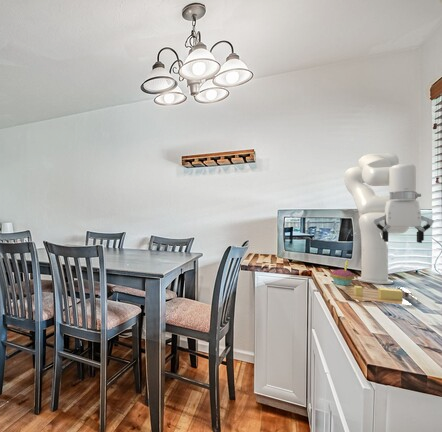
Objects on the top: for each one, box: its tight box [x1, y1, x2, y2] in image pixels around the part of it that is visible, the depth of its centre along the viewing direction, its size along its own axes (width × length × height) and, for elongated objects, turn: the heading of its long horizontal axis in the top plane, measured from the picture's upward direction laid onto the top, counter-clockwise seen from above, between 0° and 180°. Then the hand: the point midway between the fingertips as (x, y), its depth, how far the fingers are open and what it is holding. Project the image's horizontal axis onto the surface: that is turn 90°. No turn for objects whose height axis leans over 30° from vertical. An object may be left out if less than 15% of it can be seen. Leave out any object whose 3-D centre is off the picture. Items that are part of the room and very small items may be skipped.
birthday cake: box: [329, 258, 355, 286], centre depth 137 cm, size 9×8×12 cm
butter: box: [377, 287, 404, 300], centre depth 113 cm, size 4×6×3 cm, turn 60°
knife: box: [396, 286, 419, 305], centre depth 115 cm, size 20×2×3 cm, turn 151°
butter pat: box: [353, 285, 364, 296], centre depth 118 cm, size 4×2×3 cm, turn 151°
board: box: [343, 286, 412, 306], centre depth 118 cm, size 22×16×1 cm
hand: (402, 242), depth 121 cm, fingers open, 9 cm apart
